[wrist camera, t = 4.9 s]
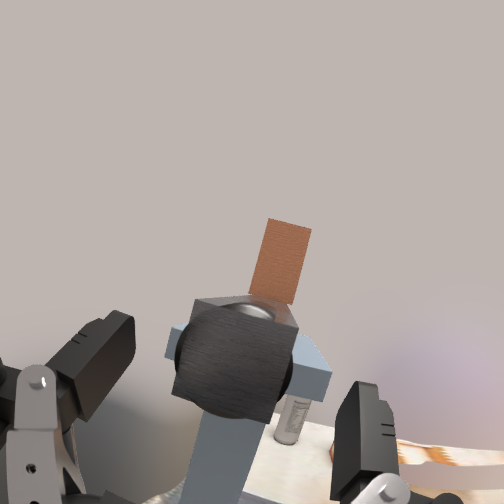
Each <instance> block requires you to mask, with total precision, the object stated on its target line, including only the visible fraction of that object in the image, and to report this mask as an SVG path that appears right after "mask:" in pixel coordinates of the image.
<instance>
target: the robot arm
mask: <svg viewBox="0 0 504 504" xmlns="http://www.w3.org/2000/svg"><path fill="white" fill-rule="evenodd" d="M135 349H136V342H135V320H134V317H132V316H130V315H127V314H124V313H122V312H119V311H117V310H113V311H112V312H111V313H110V314H109V315H108V316H107V317H106V318H105V319H104V320H102V319H100V318H98V319H96V320H94V321H92V322H89V323H88V324H86V325H85V326H84V327H83V328H82V329H81V330H80V331H79V332H78V334H76V335H75V336H74V337H73V338H72V339H71V341H68V342H67V343H66V344H65V345H64V347H63V348H62V349H60V350H59V351H58V352H57V354H55V356H53V357H52V358H51V359H50V360H49V362H48V363H46V364H45V365H31V366H28V367H26V368H25V369H23V370H19V369H15V368H11V367H8V366H5V365H3V363H2V360H1V358H0V450H1V448H2V447H3V446H4V444H5V443H6V442H7V444H6V450H7V451H6V452H7V453H6V454H7V482H8V497H9V504H135V503H132V502H130V501H128V500H126V499H123V498H121V497H119V496H117V495H115V494H113V493H111V492H109V491H107V490H106V491H105V492H104V494H103V496H102V495H96V494H86V490H85V487H84V483H83V480H82V478H81V475H80V471H79V466H78V460H77V454H76V447H75V439H74V430H73V424H72V423H73V422H74V421H75V419H76V418H77V417H78V418H79V419H81V420H83V421H85V422H88V420H89V419H90V417H91V416H92V415H93V413H94V412H95V411H96V409H97V408H98V406H99V405H100V404H101V402H102V401H103V400H104V398H105V397H106V396H107V394H108V393H109V392H110V390H111V389H112V387H113V386H114V384H115V383H116V382H117V381H118V379H119V378H120V377H121V375H122V374H123V373H124V371H125V370H126V368H127V367H128V366H129V365H130V363H131V362H132V360H133V358H134V354H135ZM395 435H396V434H395V428H394V417H393V412H392V410H391V408H390V407H389V405H388V403H387V401H383V400H379V395H378V387H377V385H376V384H370V383H365V382H360V381H356V382H354V384H353V385H352V387H351V389H350V391H349V392H348V394H347V396H346V398H345V399H344V401H343V403H342V404H341V406H340V408H339V410H338V413H337V416H336V421H335V437H334V454H333V468H332V481H331V492H330V500H333V501H340V504H463V502H462V500H461V499H460V498H459V497H458V496H456V495H454V494H452V493H443V494H441V495H439V496H437V497H436V498H435V499H432V498H429V497H426V496H423V495H420V494H417V493H414V492H412V491H411V490H410V488H409V485H408V484H407V482H406V481H405V480H404V479H403V478H402V477H400V476H399V466H398V454H397V444H396V437H395Z"/></svg>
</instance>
